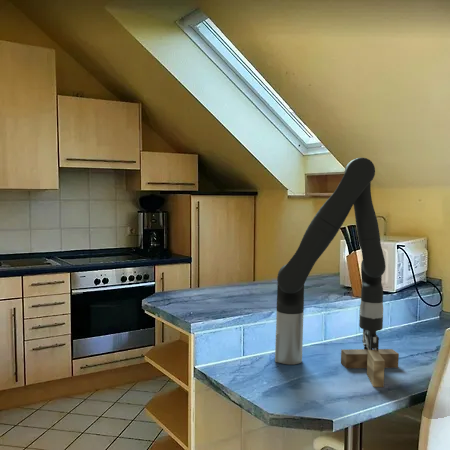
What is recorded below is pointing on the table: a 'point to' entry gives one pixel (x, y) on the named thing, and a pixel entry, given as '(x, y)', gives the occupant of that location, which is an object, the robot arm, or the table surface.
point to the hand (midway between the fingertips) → (369, 361)
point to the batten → (359, 358)
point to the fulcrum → (375, 368)
